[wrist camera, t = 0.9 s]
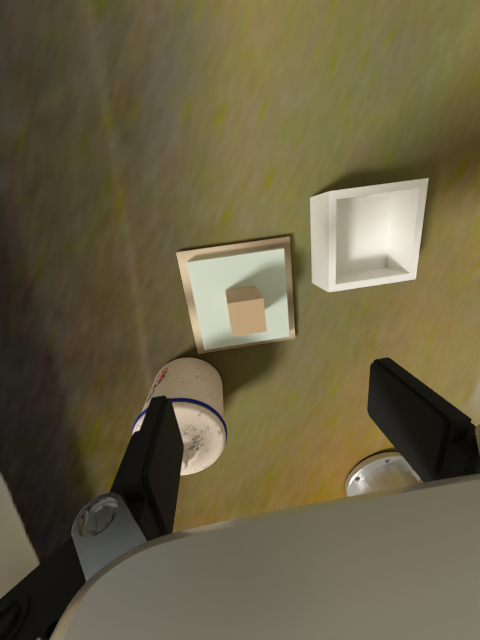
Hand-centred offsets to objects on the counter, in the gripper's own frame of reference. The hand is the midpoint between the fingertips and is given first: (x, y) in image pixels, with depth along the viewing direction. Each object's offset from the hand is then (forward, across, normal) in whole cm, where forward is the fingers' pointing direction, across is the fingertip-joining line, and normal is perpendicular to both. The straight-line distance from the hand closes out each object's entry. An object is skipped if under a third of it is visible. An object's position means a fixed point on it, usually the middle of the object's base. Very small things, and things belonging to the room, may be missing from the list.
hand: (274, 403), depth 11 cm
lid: (+18, 0, 0) cm, 18 cm away
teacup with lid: (+18, +8, +12) cm, 24 cm away
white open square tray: (+18, -13, -5) cm, 23 cm away
